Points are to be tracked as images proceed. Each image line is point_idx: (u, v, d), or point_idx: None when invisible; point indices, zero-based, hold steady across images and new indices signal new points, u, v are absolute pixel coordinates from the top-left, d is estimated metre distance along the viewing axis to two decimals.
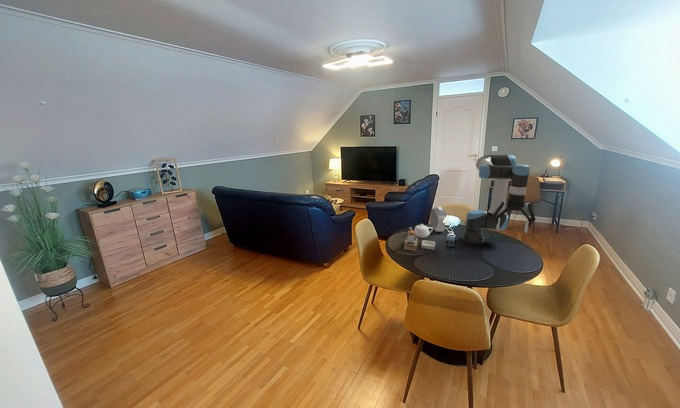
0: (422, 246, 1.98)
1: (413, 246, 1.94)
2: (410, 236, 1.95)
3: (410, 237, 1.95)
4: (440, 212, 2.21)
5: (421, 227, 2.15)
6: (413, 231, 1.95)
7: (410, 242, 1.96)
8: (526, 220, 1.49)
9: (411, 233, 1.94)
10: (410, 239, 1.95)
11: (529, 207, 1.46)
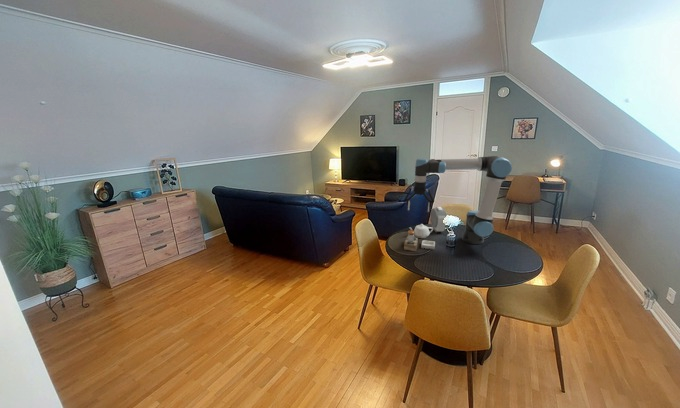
0: (422, 246, 1.98)
1: (413, 246, 1.94)
2: (410, 236, 1.95)
3: (410, 237, 1.95)
4: (440, 212, 2.21)
5: (421, 227, 2.15)
6: (413, 231, 1.95)
7: (410, 242, 1.96)
8: None
9: (411, 233, 1.94)
10: (410, 239, 1.95)
11: (429, 192, 1.88)
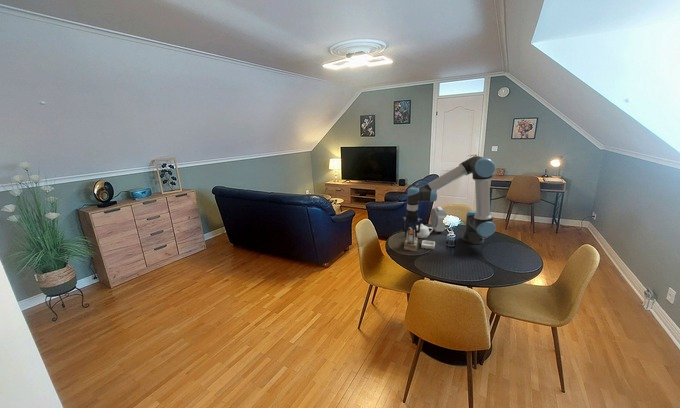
0: (422, 246, 1.98)
1: (413, 246, 1.94)
2: (410, 236, 1.95)
3: (410, 237, 1.95)
4: (440, 212, 2.21)
5: (421, 227, 2.15)
6: (413, 231, 1.95)
7: (410, 242, 1.96)
8: (414, 232, 1.96)
9: (411, 233, 1.94)
10: (410, 239, 1.95)
11: (419, 222, 1.91)
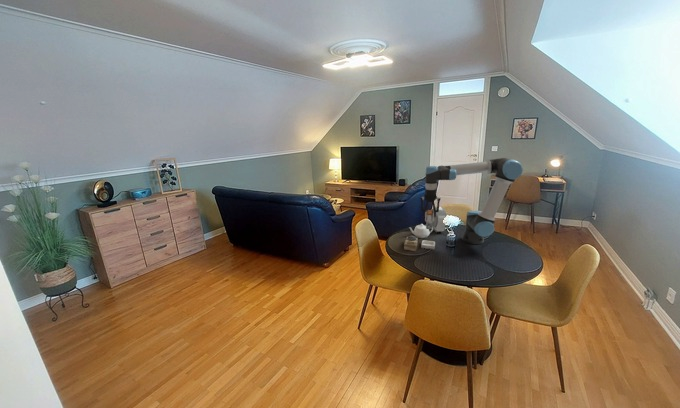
0: (422, 246, 1.98)
1: (413, 246, 1.94)
2: (429, 216, 1.92)
3: (429, 217, 1.93)
4: (440, 212, 2.21)
5: (421, 227, 2.15)
6: (432, 211, 1.93)
7: (429, 222, 1.94)
8: (433, 212, 1.93)
9: (430, 213, 1.91)
10: (429, 219, 1.93)
11: (438, 201, 1.88)
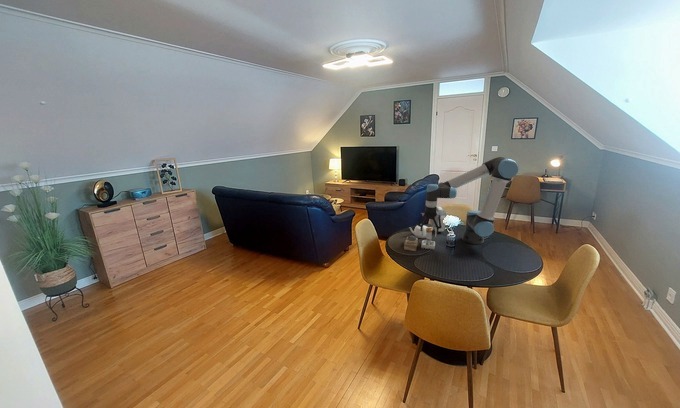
0: (422, 246, 1.98)
1: (413, 246, 1.94)
2: (428, 233, 1.97)
3: (428, 234, 1.97)
4: (440, 212, 2.21)
5: None
6: (431, 228, 1.97)
7: (428, 239, 1.98)
8: None
9: (429, 230, 1.96)
10: (428, 236, 1.97)
11: (439, 217, 1.91)
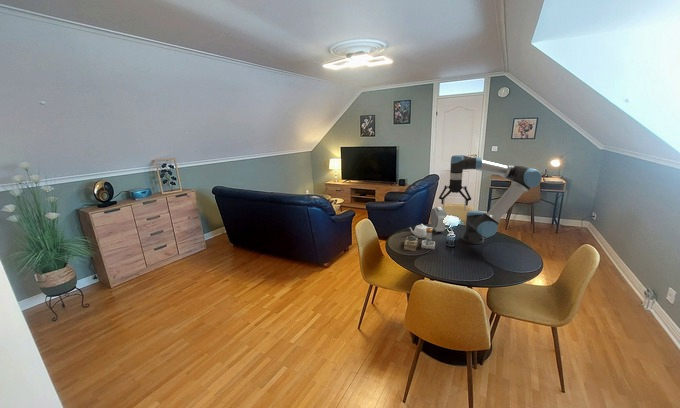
0: (422, 246, 1.98)
1: (413, 246, 1.94)
2: (428, 234, 1.96)
3: (428, 235, 1.97)
4: (440, 212, 2.21)
5: (421, 227, 2.15)
6: (431, 229, 1.97)
7: (428, 240, 1.98)
8: None
9: (429, 231, 1.95)
10: (428, 237, 1.97)
11: (465, 189, 1.81)
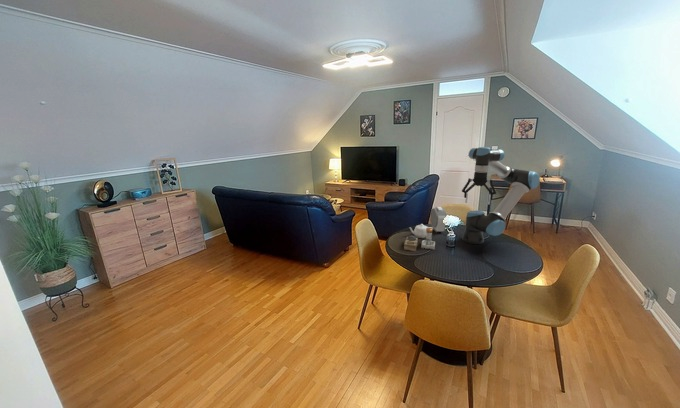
0: (422, 246, 1.98)
1: (413, 246, 1.94)
2: (428, 234, 1.96)
3: (428, 235, 1.97)
4: (440, 212, 2.21)
5: (421, 227, 2.15)
6: (431, 229, 1.97)
7: (428, 240, 1.98)
8: (489, 194, 1.79)
9: (429, 231, 1.95)
10: (428, 237, 1.97)
11: (490, 182, 1.75)
